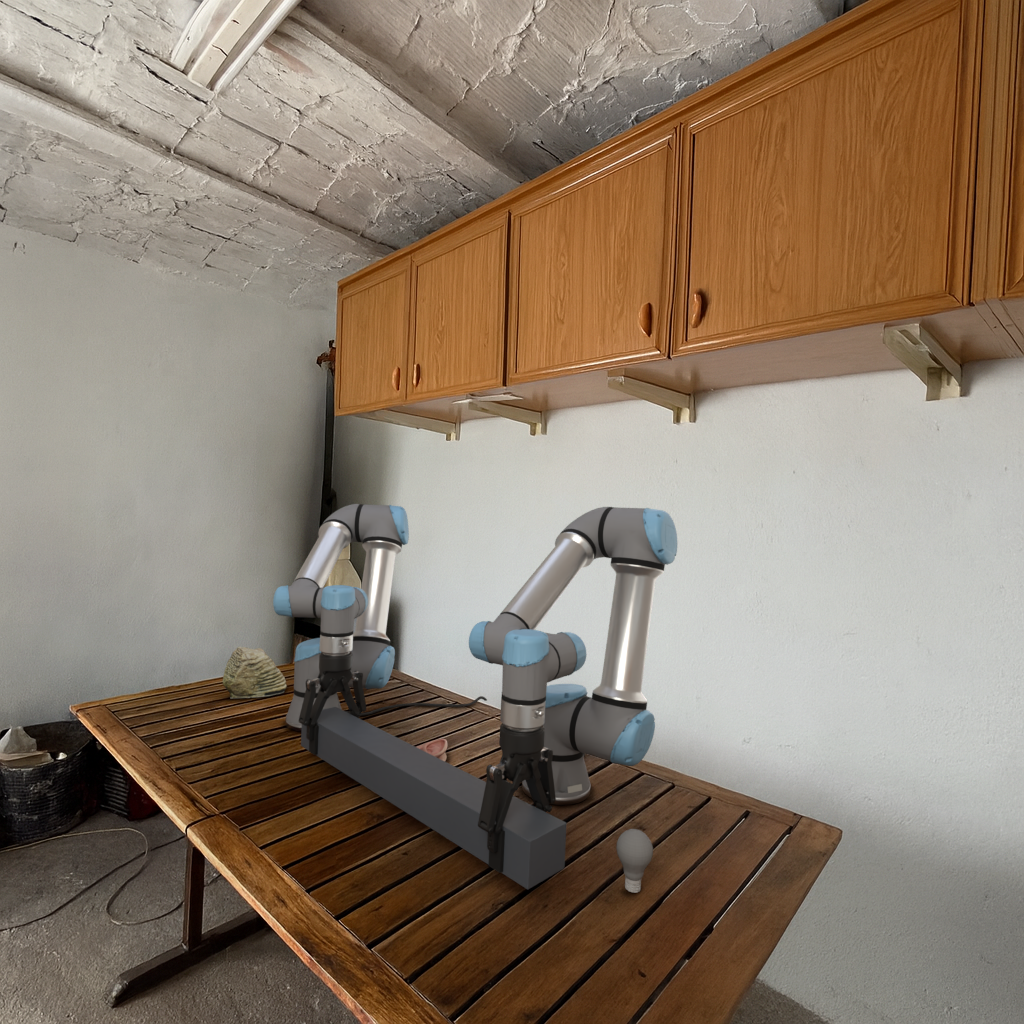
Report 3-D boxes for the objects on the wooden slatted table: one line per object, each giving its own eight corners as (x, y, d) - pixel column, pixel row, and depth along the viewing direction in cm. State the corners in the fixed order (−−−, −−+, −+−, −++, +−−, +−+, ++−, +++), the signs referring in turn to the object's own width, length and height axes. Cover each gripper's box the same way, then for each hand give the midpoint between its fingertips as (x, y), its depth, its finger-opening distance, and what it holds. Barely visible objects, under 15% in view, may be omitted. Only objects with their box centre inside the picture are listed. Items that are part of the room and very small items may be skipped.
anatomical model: (384, 748, 150) (402, 731, 161) (383, 765, 150) (401, 747, 161) (437, 755, 147) (452, 738, 159) (437, 772, 148) (451, 753, 159)
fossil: (218, 695, 195) (220, 647, 195) (278, 685, 208) (279, 640, 207) (228, 703, 189) (230, 653, 188) (289, 692, 201) (290, 645, 201)
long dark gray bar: (300, 745, 150) (301, 714, 150) (334, 737, 157) (335, 706, 156) (527, 890, 98) (530, 841, 98) (564, 868, 105) (566, 822, 104)
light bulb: (610, 879, 108) (613, 822, 108) (644, 879, 109) (647, 822, 109) (619, 902, 102) (622, 840, 102) (655, 901, 103) (658, 840, 103)
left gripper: (300, 662, 138) (296, 765, 138) (384, 649, 153) (380, 741, 154) (284, 655, 143) (280, 754, 144) (367, 643, 159) (363, 732, 159)
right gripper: (490, 746, 95) (484, 894, 96) (580, 716, 111) (574, 844, 111) (458, 732, 101) (452, 872, 101) (548, 705, 116) (543, 827, 117)
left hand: (332, 747), depth 149 cm, fingers closed on long dark gray bar, 9 cm apart
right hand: (516, 857), depth 106 cm, fingers closed on long dark gray bar, 9 cm apart
